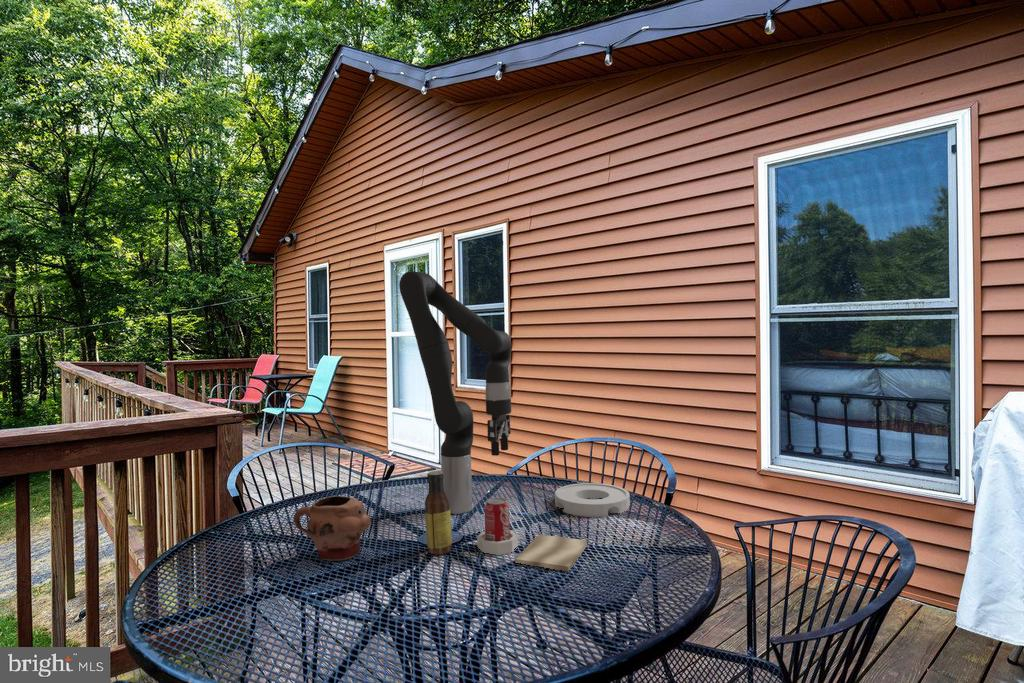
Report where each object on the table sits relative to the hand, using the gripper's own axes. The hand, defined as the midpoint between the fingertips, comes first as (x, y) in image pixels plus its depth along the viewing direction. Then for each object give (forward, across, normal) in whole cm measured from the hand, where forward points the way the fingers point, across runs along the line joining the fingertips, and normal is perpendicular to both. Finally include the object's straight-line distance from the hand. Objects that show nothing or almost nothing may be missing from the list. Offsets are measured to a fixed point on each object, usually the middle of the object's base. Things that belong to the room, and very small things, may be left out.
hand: (500, 452), depth 170 cm
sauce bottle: (+20, +29, -7) cm, 36 cm away
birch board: (+20, +24, +21) cm, 37 cm away
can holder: (+20, +23, +6) cm, 31 cm away
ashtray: (+19, -18, +24) cm, 35 cm away
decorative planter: (+20, +38, -32) cm, 53 cm away
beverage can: (+20, +23, +6) cm, 31 cm away
